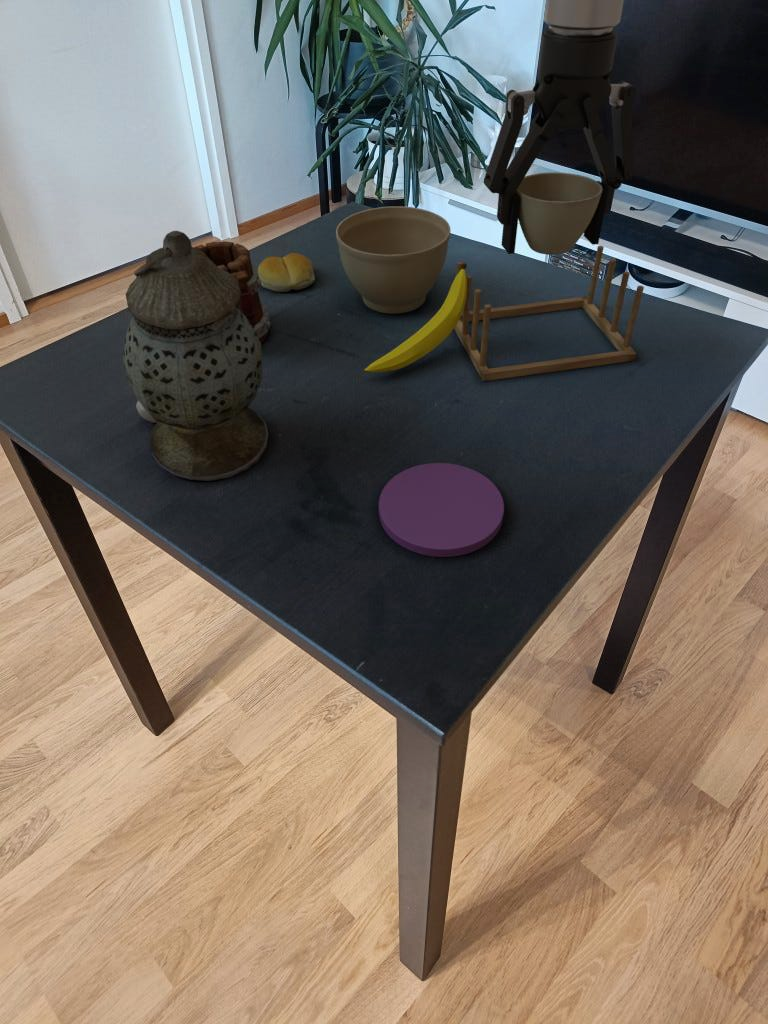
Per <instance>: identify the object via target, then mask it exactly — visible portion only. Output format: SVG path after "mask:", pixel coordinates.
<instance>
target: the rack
mask: <svg viewBox="0 0 768 1024" xmlns="http://www.w3.org/2000/svg"><path fill="white" fill-rule="evenodd" d="M604 248H605V247H604V246H603V245H597V248H596V253H595V258H594V263H593V268H592V274H591V279H590V285H589V289H588V293H587V296H580V297H571V298H564V299H555V300H548V301H539V302H531V303H522V304H513V305H507V306H499V307H492V305H491V304H489V303H486V304H484V307H483V309H482V308H481V297H482V289H480V288H476V289H474V298H473V308H472V309H473V310H470V309H471V296H472V283H473V282H472V281H473V276H472V275H471V274H466V277H467V294H466V301H465V306H464V309H463V312H462V315H461V317H460V319H459V321H458V323H457V325H456V326H455V328H454V329H453V330H454V331H455V333H456V335H457V337H458V339H459V341H460V343H461V344H462V346H463V348H464V350H465V352H466V353H467V355H468V357H469V359H470V361H471V362H472V364H473V366H474V368H475V370H476V372H477V373H478V375H479V377H480V379H481V381H482V382H488V381H495V380H503V379H511V378H517V377H525V376H533V375H541V374H547V373H553V372H561V371H569V370H576V369H583V368H590V367H598V366H605V365H612V364H619V363H620V364H621V363H626V362H627V363H628V362H634V361H635V359H636V355H637V352H636V351H635V350H634V348H633V347H631V345H630V344H631V340H632V337H633V332H634V330H635V329H634V328H635V325H636V320H637V317H638V313H639V309H640V304H641V301H642V297H643V293H644V289H645V287H644V285H637V286H636V289H635V290H636V291H635V295H634V299H633V303H632V307H631V311H630V314H629V320H628V323H627V327H626V331H625V334H624V335H625V336H624V337H623V336H622V335H621V334H620V333H619V332H618V330H617V329H618V325H619V321H620V316H621V312H622V307H623V304H624V299H625V295H626V291H627V287H628V282H629V278H630V271H623V272H622V277H621V281H620V286H619V290H618V294H617V299H616V304H615V308H614V312H613V315H612V321H611V322H610V321H609V320H608V319H607V318H606V316H605V313H606V309H607V304H608V300H609V296H610V291H611V287H612V282H613V278H614V272H615V267H616V263H617V259H616V258H614V257H611V258H610V259H609V261H608V268H607V272H606V277H605V281H604V287H603V291H602V296H601V301H600V305H599V308H598V307H597V306H596V305H595V304H594V303H593V302H594V299H595V298H594V297H595V292H596V287H597V282H598V278H599V272H600V268H601V262H602V257H603V252H604ZM463 263H464V262H463V261H457V262H456V275H457V274H458V273H459V272H460V270H461V269H462V264H463ZM581 308H582V310H584V312H585V313H586V314H587V315H588V316H589V318H590V319H591V320H592V321H593V322H594V324H595V325H596V326H597V327H598V328H599V330H600V331H601V332H602V333H603V334H604V336H605V337H606V338H607V339H608V340H609V341H610V343H611V344H612V345H613V347H615V349H616V350H617V351H610V352H603V353H595V354H587V355H581V356H574V357H566V358H565V357H564V358H558V359H550V360H543V361H536V362H528V363H522V364H514V365H513V364H512V365H506V366H499V367H491V368H489V367H488V366H487V354H488V343H489V342H488V341H489V332H490V323H491V320H493V319H501V318H509V317H510V318H511V317H517V316H518V317H519V316H525V315H534V314H541V313H549V312H559V311H567V310H574V309H581ZM480 321H482V327H481V328H482V329H481V341H480V351H479V350H478V335H479V323H480ZM470 322H471V323H472V324H471V334H469V325H470V324H469V323H470ZM470 335H471V336H470Z"/></svg>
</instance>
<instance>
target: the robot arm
mask: <svg viewBox="0 0 768 1024" xmlns="http://www.w3.org/2000/svg"><path fill="white" fill-rule="evenodd" d="M624 1H625V0H545V5H544V13H543V22H544V23H545V24H546V25H547V26H548V27H545V29H544V31H543V32H542V33H541V37H540V38H541V39H540V50H539V56H538V57H539V58H538V67H537V79H536V82H535V84H534V86H533V88H532V89H531V90H525V91H516V90H515V89H510V90H508V91H507V92H506V95H505V113H504V117H503V119H502V120H503V121H502V124H501V126H500V130H499V132H498V136H497V139H496V141H495V144H494V147H493V148H494V149H493V151H492V153H491V156H490V159H489V162H488V166H487V168H486V171H485V175H484V178H483V185H484V186H485V187H486V188H487V189H488V191H489V192H490V193H492V194H498V198H497V208H496V209H497V210H496V218H497V221H498V222H499V223H500V224H501V225H502V235H501V243H500V244H501V246H502V248H503V249H504V250H505V252H506V253H507V254H508V255H512V254H515V253H516V252H515V251H516V243H517V236H518V235H517V233H518V225H519V219H518V216H519V207H520V197H519V196H518V194H517V193H516V190H517V189H518V187H519V185H520V184H521V182H522V180H523V179H524V177H525V176H527V174H528V172H529V170H530V169H531V167H532V166H533V164H534V162H535V160H536V159H537V157H538V155H539V154H540V152H541V150H542V149H543V147H544V146H545V144H546V143H547V142H548V141H550V140H551V138H552V137H553V135H554V133H562V132H566V131H569V130H574V131H583V133H584V135H585V136H584V137H585V138H586V141H587V144H588V147H589V150H590V153H591V156H592V159H593V161H594V163H595V167H596V169H597V173H598V175H599V178H600V179H601V180H596V181H597V182H598V183H600V184H601V186H602V194H601V197H600V200H599V203H598V206H597V208H596V211H595V213H594V215H593V217H592V219H591V221H590V223H589V225H588V226H587V228H586V230H585V231H584V233H583V237H584V238H585V239H586V240H587V241H588V242H589V244H591V245H599V242H600V237H601V232H602V227H603V226H602V225H603V223H604V222H603V221H604V217H605V214H606V215H607V214H610V212H611V210H612V207H613V201H614V197H615V191H616V190H618V189H619V188H621V186H622V182H623V181H625V180H626V181H629V180H632V179H633V178H634V176H635V154H634V133H633V132H634V131H633V113H632V112H633V111H632V109H633V106H634V102H635V99H636V98H635V97H636V93H637V88H636V87H635V86H634V85H631V84H630V83H629V82H626V81H624V80H620V81H618V82H617V83H611V80H610V79H611V78H610V74H611V72H612V70H613V66H614V60H615V53H616V50H617V49H616V48H617V41H618V36H619V34H618V33H617V30H616V29H614V27H616V26H617V25H618V24H620V22H621V19H622V13H623V7H624ZM608 99H609V100H608ZM607 101H609V104H610V106H611V119H612V120H611V121H612V122H611V123H612V124H611V125H612V138H613V153H614V160H613V158H612V155H611V152H610V149H609V146H608V143H607V140H606V136H605V134H604V131H603V130H604V127H603V124H602V120H601V118H600V115H599V112H600V110H601V109H602V108H603V106H604V105H605V103H606V102H607ZM532 105H534V106H535V108H536V110H537V113H536V114H535V116H534V118H533V120H532V121H531V124H530V126H529V131H528V132H527V134H526V136H525V137H524V139H523V141H522V142H521V144H520V146H519V147H518V149H517V151H516V153H515V155H514V156H513V158H512V155H513V153H514V150H515V146H516V144H517V141H518V138H519V135H520V133H521V130H522V126H523V122H524V118H525V117H524V116H526V115H528V113H529V111H530V108H531V106H532ZM511 158H512V159H511Z"/></svg>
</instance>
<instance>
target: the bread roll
mask: <svg viewBox="0 0 768 1024" xmlns="http://www.w3.org/2000/svg"><path fill="white" fill-rule="evenodd" d="M257 270H258V274H259V278H260V281H261V285H260V286H261V287H263V289H266V290H269V291H272V292H277V293H287V292H290V291H291V290H294V291H299V290H303V289H306V288H307V287H309V286H311V285H313V283H314V282H315V280H316V277H315V272H314V269H313V264H312V260H310V259H309V258H308V257H307V256H305V255H303V254H302V253H301V254H300V253H296V252H291V253H288V254H286V255H285V256H283V257H280V256H275V255H274V256H268V257H266V258H265V259H263V260H262V261H261V262H260V263H259V265H258V267H257Z"/></svg>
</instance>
